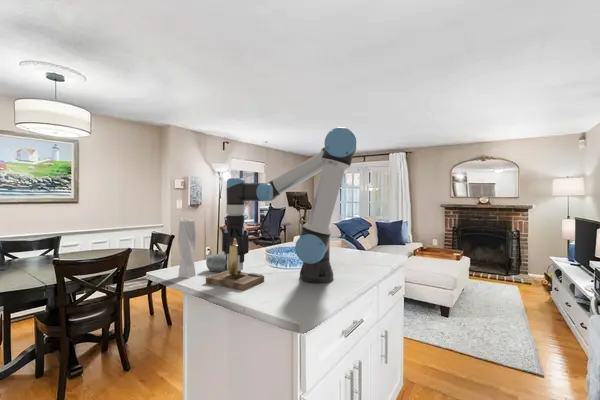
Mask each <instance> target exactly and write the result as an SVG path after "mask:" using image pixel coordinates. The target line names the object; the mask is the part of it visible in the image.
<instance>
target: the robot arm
mask: <svg viewBox="0 0 600 400" xmlns="http://www.w3.org/2000/svg"><path fill="white" fill-rule="evenodd" d="M356 151H357V137H356V135H355V134H354V132H353V131H352V130H350V129H349V128H347V127H345V126H338V127H335V128H332V129H331V130H330V131H328V132H327V134H326V135H325V138H324V147H322V148H321V150H320V152H318V153H317V154H315V155H314V156H311V157H310V158H308V159H306V160H305V161H303V162H301V163H299V164H297V165H296V166H295V167H293V168H291V169H289V170H287V171H285V172H284V173H282V174H281V175H279V176H277V177H275V178H273V179H272V180H270V181H269V182H257V183H256V182H255V183H253V182H252V183H251V182H249V183H248V182H246V181H245V179H244V178H242V177H241V178H240V177H239V178H238V177H237V178H234V177H231V178H230V177H229V178H228V179H227V180H226V189H225V190H226V206H225V207H226V210H225V211H226V214H227V215H226V216H225V217H226V220H225V222H226V223H225V224H226V227H224V228H221V230H220V231H221V235H222V236H221V246H222V247H221V251H222V252H223V253H225V255H226V261H227V269H229V245H232V244H234V242H235V241H234V240H236V244H237V245H238V250H239V254H238V265H237V271H240V270H241V271H243V270H244V263H245V255H246V254H249V235H250V232H251V231H250V230H249V229H245V226H244V225H245V215H244V214H245V202H248V201H249V202H272V201H273V200H275V199H277V197H278V196H280V195H281V194H283V193H286V192H287V191H289V190H291V189H294V187H297V186H298V185H299V184H301V183H303V182H305V181H307V180H308V179H310V178H312V177H315V175H317V174H319V173H321V175H320V177H319V181H318V185H317V188H316V192H315V195H314V199H313V202H312V206H311V209H310V213H309V217H308V220H307V222H306V223H304V224H303V225H302V227H301V231H300V235H299V237H298V238H297V241H295V246H294V248H295V249H294V251H295V254H296V256H297V257H298V259H299V260H300V261H302V264H301V268H300V272H299V279H300V280H301V281H303V282H306V283H311V284H312V283H313V284H322V283H323V284H324V283H329V282H332V281H333V280H334V271H333V267H332V265H331V261H330V253H331V252H330V251H331V250H330V247H331V245H330V244H331V242H330V240H331V239H330V238H331V234H332V232H331V231H330V230H331V229H330V228H329V227H330V224H331V220H332V216H333V214H334V211H335V210H334V209H335V206H336V203H337V200H338V196H339V193H340V189H341V186H342V182H343V179H344V175H345V171H346V170H347V169H349V168H350V167H351V165H352V160H353V158H354V155H355V153H356Z"/></svg>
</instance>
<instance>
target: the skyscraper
mask: <svg viewBox="0 0 600 400" xmlns="http://www.w3.org/2000/svg"><path fill="white" fill-rule="evenodd" d="M195 222H196V221H195V219H194V218H183V217H182V215H179V224H178V233H177V240H178V242H177V243H178V251H179V254H180V261H179V269H178V275H177V276H178V278H184V279H190V278H192V277H194V276H196V268H195V266H196V265H195V261H194V252H195V249H196V248H195V247H196V239H197V232H196V223H195Z"/></svg>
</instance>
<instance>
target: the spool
mask: <svg viewBox="0 0 600 400" xmlns="http://www.w3.org/2000/svg"><path fill="white" fill-rule="evenodd" d="M205 263H206V268H207V269H208V270H209V271H210V272H217V273H221V272H224V271H227V270H229V269H227V261H226V254H220V253H219V254H211V255H208V257H207V258H206V260H205Z"/></svg>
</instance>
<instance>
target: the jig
mask: <svg viewBox="0 0 600 400" xmlns="http://www.w3.org/2000/svg"><path fill="white" fill-rule="evenodd" d="M264 282H265V275H264V274H262V273H254V272H245V271H243V272H242V271H241V274H237V275H231V274H229V270H227V271H224V272H217V273H216V274H212V275H210V276H206V277H205V284H206V285H207V284H208V285H213V286H218V287H223V288H228V289H233V290H237V291H247V290H248V289H251V288H253V287H255V286H257V285H259V284H261V283H264Z"/></svg>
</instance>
